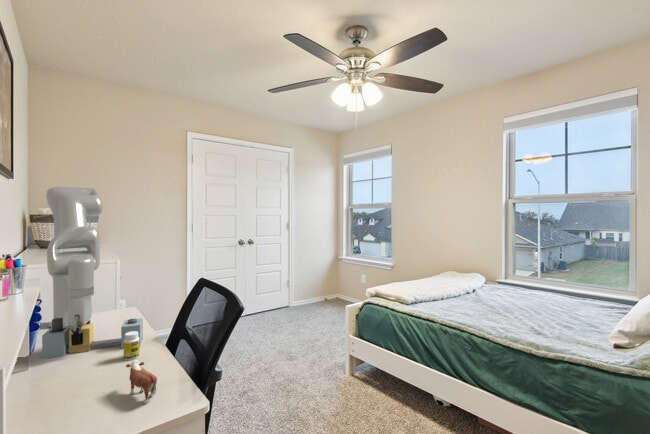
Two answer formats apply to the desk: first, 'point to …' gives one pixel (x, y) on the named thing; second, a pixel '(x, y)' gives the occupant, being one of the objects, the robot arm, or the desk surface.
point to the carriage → (87, 339)
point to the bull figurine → (142, 379)
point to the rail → (103, 344)
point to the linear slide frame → (59, 341)
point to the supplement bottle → (131, 345)
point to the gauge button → (57, 324)
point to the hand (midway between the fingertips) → (81, 339)
